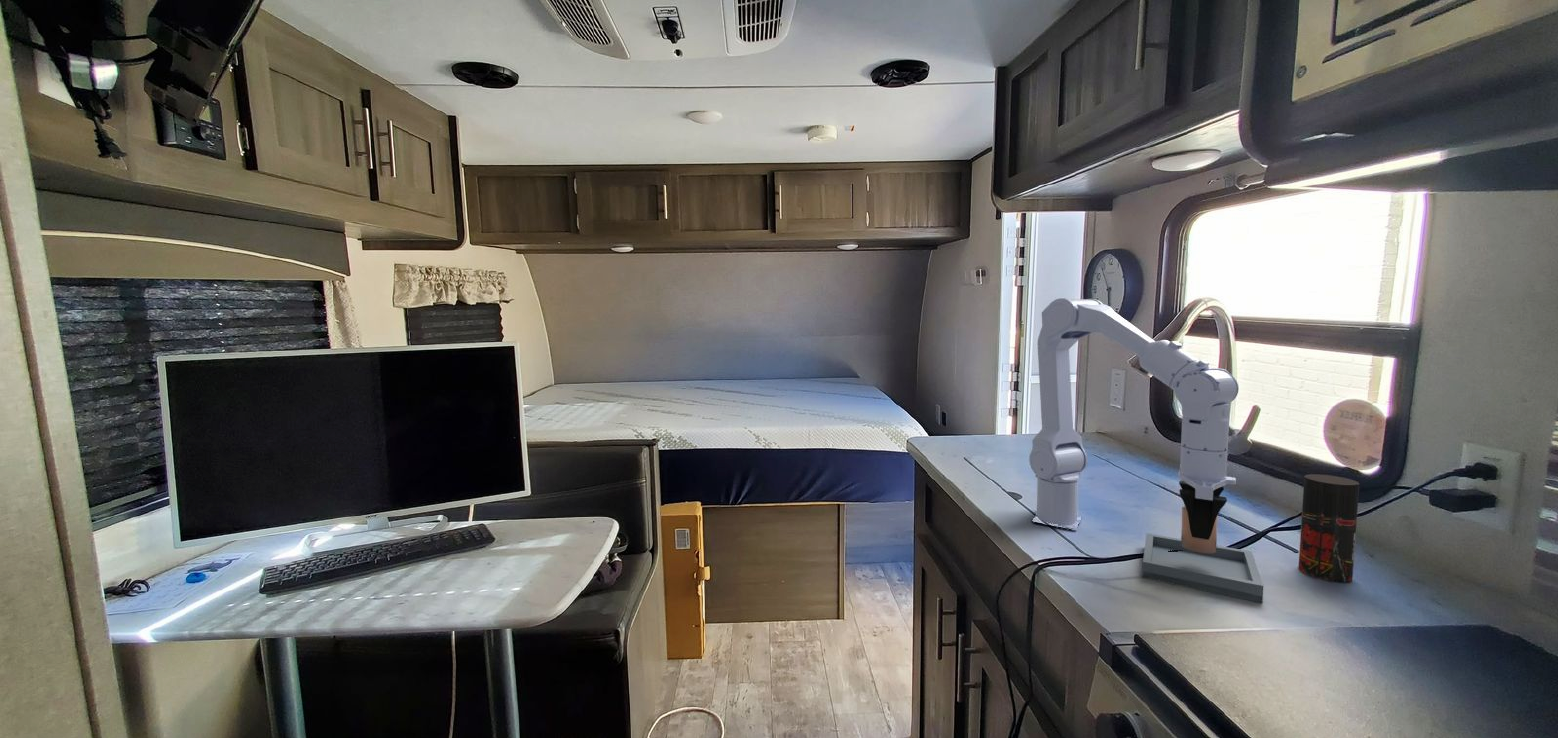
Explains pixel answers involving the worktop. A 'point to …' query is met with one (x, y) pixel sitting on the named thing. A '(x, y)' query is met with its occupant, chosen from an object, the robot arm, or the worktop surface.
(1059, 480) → the robot arm
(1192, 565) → the tray
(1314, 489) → the deodorant
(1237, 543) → the worktop surface
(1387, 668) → the worktop surface
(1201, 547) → the shaker
